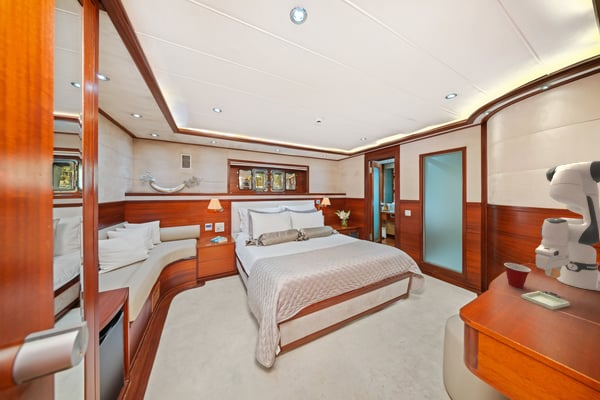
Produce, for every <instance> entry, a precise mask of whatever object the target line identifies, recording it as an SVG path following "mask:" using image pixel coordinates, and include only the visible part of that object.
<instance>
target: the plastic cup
mask: <svg viewBox="0 0 600 400" xmlns="http://www.w3.org/2000/svg"><path fill="white" fill-rule="evenodd" d="M503 265H504V268H505V273H506V279H507V283H508V285H509V286H511V287H514V288H516V289H517V288H518V289H523V288H524V286H525V283H526V280H527V278H528V275H529V274H530V272H531V271H532V269H530V268H529V267H527V266H524V265H522V264H518V263H513V262H505V263H503Z"/></svg>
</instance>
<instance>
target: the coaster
mask: <svg viewBox="0 0 600 400" xmlns="http://www.w3.org/2000/svg"><path fill="white" fill-rule="evenodd" d="M541 292H542V293H545V294H548V295H551V296H554V297H556V298H559V299H562V300H563V299H564V298H565V299H566V297H564V296H561V295H558V293H555V292H552V291H550V292H549V291H547V290H544V291H541Z"/></svg>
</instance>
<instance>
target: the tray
mask: <svg viewBox="0 0 600 400" xmlns="http://www.w3.org/2000/svg"><path fill="white" fill-rule="evenodd" d="M542 292H543V291H540V290H537V291H532V292H527V293H523V294H521V295H520V296H521V297H520V298H521V299H524V300H526V301H528V302H531V303H533V304H535V305H539V306H541V307H543V308H546V309H547V310H551V311H554V310H558V309H562V308H566V307H571V302H570V301H567V300H564V299H563V298H562V299H559V298H556V297H554V296H551V295H548V294H545V293H542Z"/></svg>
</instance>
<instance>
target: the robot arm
mask: <svg viewBox="0 0 600 400" xmlns="http://www.w3.org/2000/svg"><path fill="white" fill-rule="evenodd" d="M545 174H546V175H545V176H546V179H547V181H548V182H549V183H550V184H549V195H550V198H551V199H553V200H555V201H556V202H558V203H562V204H565V207H566V209H568V211H570V212H573V213H575V214H578V215H581V216H582V217H583V218H570V217H547V218H545V219H543V220H544V221H543V224H542V225H541V227H540V235H541V236H542V238H541V239H542V240H541V242H540V245H539V246H538V247H537V248H535V249H534V250H535V251H534V252H535V253H536V254H535V267H536V268H538V269H541V270H544V271H545V276H548V277H549V276H552V272H551V270H552V268H554V269H557V270H558V271H559V272H560V273H561V275H560V277H558V278H555V279H556V280H557V281H558V282H560V283H562V284H565V285H568V286H571V287H575V288H579V289H585V290H590V291H597V292H600V270H599V266H600V262H597V249H595V247H593V246H594V245H597V244H600V191H599V186H598V183H599V184H600V160H595V161H584V162H575V163H569V164H564V165H557V166H552V167H550V168H549V169H547V170H546V173H545Z"/></svg>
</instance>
